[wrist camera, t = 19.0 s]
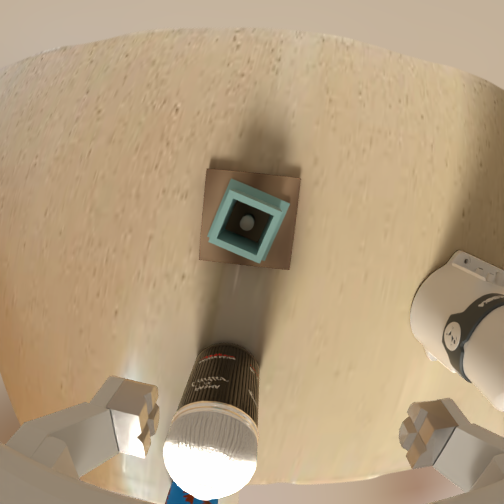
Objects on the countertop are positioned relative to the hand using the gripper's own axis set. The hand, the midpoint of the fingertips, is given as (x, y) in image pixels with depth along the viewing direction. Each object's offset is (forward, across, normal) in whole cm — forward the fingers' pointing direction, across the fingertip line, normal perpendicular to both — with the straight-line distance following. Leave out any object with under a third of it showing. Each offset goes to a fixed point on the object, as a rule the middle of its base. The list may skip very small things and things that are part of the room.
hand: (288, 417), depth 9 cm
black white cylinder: (+35, +4, +21) cm, 41 cm away
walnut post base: (+35, +3, -2) cm, 35 cm away
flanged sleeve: (+34, +3, -2) cm, 34 cm away
